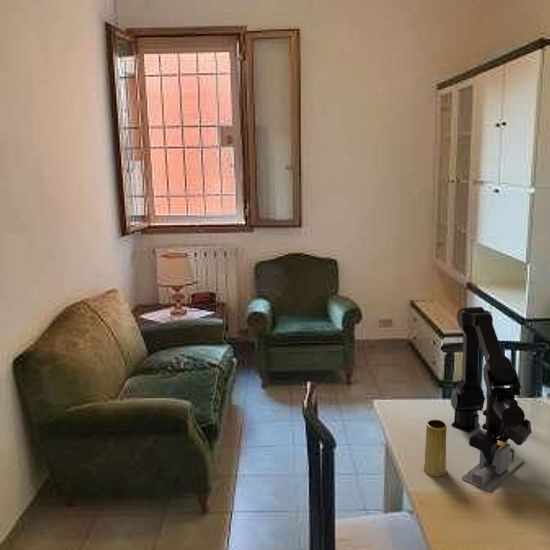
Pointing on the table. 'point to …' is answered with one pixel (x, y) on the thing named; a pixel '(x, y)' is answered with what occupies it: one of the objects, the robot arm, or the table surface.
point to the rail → (494, 476)
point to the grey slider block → (498, 457)
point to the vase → (435, 448)
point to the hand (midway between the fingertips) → (494, 460)
